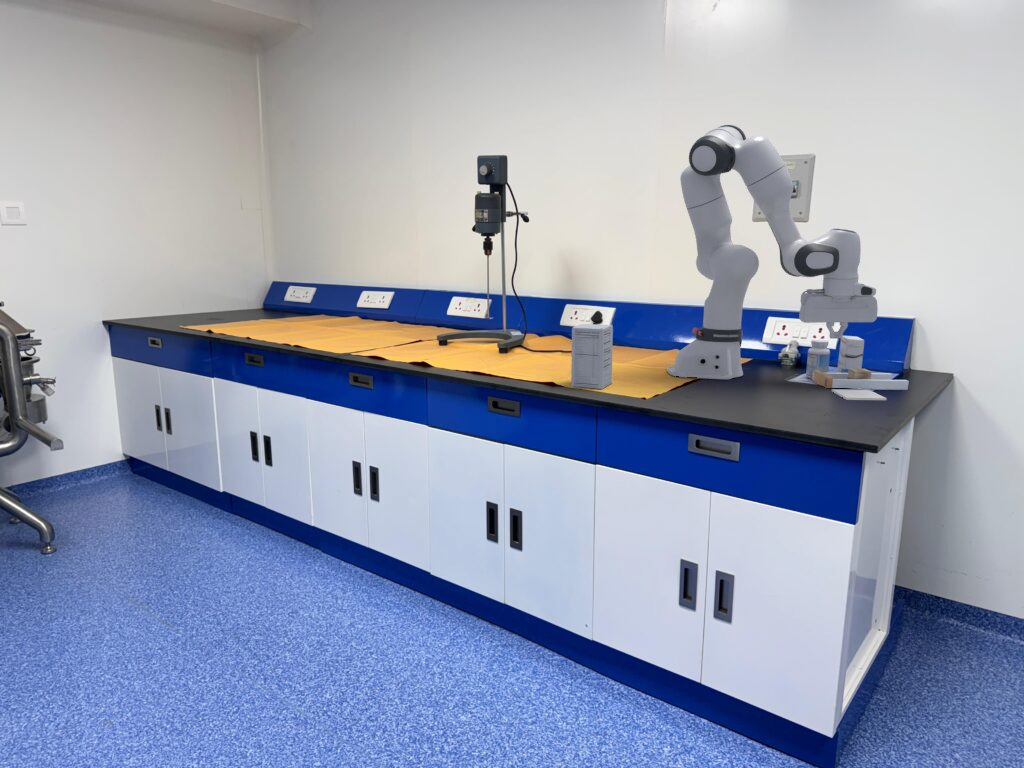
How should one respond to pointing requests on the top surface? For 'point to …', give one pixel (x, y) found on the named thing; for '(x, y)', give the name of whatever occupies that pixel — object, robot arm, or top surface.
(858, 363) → the ink box
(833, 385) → the channel
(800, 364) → the top surface
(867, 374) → the cube
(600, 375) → the supplement box
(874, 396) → the tile
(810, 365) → the pill bottle
